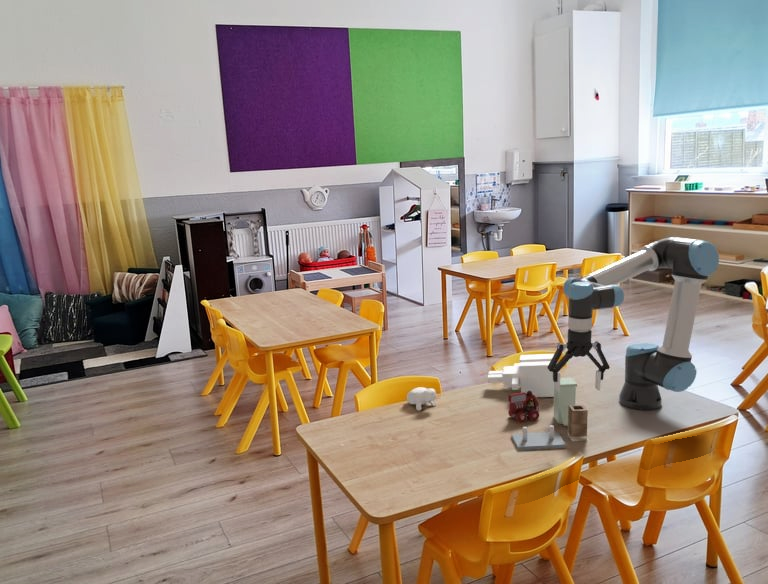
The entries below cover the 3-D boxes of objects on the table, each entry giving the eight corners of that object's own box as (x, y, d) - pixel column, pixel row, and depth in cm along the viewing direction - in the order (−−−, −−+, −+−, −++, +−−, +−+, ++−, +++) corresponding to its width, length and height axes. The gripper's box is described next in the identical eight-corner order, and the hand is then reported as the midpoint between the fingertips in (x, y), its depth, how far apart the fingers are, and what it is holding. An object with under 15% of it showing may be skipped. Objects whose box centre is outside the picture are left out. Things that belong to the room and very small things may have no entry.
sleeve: (582, 434, 225) (582, 404, 222) (586, 440, 220) (587, 410, 217) (567, 434, 225) (568, 405, 222) (572, 441, 220) (572, 410, 217)
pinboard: (557, 434, 225) (557, 419, 224) (565, 447, 215) (566, 432, 214) (511, 437, 225) (511, 422, 223) (518, 450, 215) (518, 434, 214)
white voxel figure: (492, 383, 281) (558, 381, 274) (487, 405, 258) (560, 403, 251) (489, 350, 278) (556, 347, 271) (484, 370, 255) (558, 367, 248)
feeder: (570, 415, 240) (571, 377, 237) (580, 429, 229) (581, 389, 225) (552, 416, 240) (552, 378, 237) (561, 430, 228) (562, 390, 225)
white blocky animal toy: (406, 412, 257) (427, 410, 245) (401, 391, 258) (421, 388, 246) (424, 406, 262) (445, 404, 249) (419, 386, 263) (439, 382, 250)
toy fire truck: (543, 419, 238) (544, 392, 236) (514, 425, 234) (514, 398, 232) (533, 412, 245) (533, 386, 242) (504, 417, 241) (504, 391, 239)
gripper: (613, 324, 218) (610, 384, 222) (539, 327, 217) (537, 387, 222) (621, 330, 210) (618, 392, 215) (545, 333, 210) (543, 395, 214)
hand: (577, 389), depth 218 cm, fingers open, 13 cm apart
